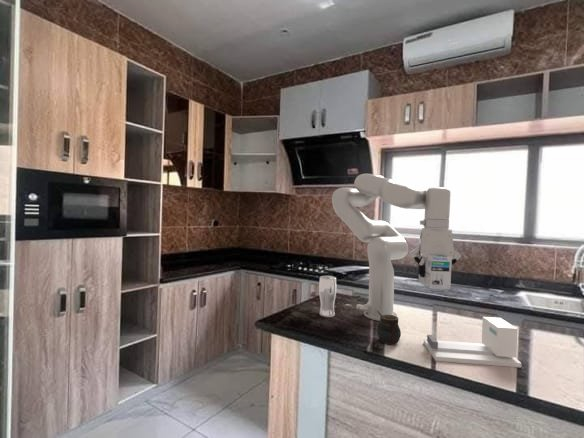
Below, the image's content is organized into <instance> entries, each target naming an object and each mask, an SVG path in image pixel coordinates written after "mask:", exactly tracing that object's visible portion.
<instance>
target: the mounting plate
mask: <svg viewBox="0 0 584 438" xmlns="http://www.w3.org/2000/svg"><path fill="white" fill-rule="evenodd" d="M423 344H424V345H425V348H426V349H427V351H428V352H429V354H430V355H431V356H432V358H433V359H434V361H436V362H447V363H459V364H472V365H485V366H496V367H497V366H499V367H509V368H510V367H512V368H522V362H521V361H520V360H518V359H517V357H503V356H496V355H495V354H494V353H493V352H492V351H491V350H489V349H488V348H487V347H486V346H485V345H484V344H483V343H482V342H481V343H478V342H466V341H464V342H463V341H452V340H451V341H450V340H439V339H436V338H435V337H434V336H433V334H427V335H426V339H423Z"/></svg>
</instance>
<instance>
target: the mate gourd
mask: <svg viewBox="0 0 584 438" xmlns="http://www.w3.org/2000/svg"><path fill="white" fill-rule="evenodd" d="M377 312H378V313H379V314H380V312H379V311H377ZM376 331H377V336H378V340H380V341H381V342H382V344H386V345H393V346H394V345H396V344H397V343H398V342H399V341H400V340H401V339H400V338H401V335H402V333H401V328H400V326H399V317H398V316H397V317H396V316H394V315H389V314H386V315H381V314H380V321H379V323H378V325H377V330H376Z"/></svg>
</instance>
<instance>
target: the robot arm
mask: <svg viewBox="0 0 584 438" xmlns="http://www.w3.org/2000/svg"><path fill="white" fill-rule="evenodd" d="M376 199H379V200H381V201H382V202H384V203H386V204H387V205H391V206H393V207H398V208H401V209H406V210H407V209H409V210H410V209H411V210H424V219H423V220H420V221H419V225H421V226H423V228H421V231H420V236H419V242H418V246H416V247H415V248H414V249H412V250H411V251H409V245H408V242H407V240H405V238H404V237H403V236H402V235H401V233H399V232H398V231H397V230H396V229H395V228H394V227H393V226H392V225H391V224H389V223H388V222H386V221H385V220H382V219H370V218H368V216H366V214H364V213H363V212H362V211H361V210H360V209H358V208H362V207H366V206H367V205H369V204H371V203H372V202H374V201H375V200H376ZM331 203H332V208H333V211H334V212H335V214H336V216H337V217H339V219H340V220H341V221H342V222H343V223H345V224H346V226H347V227H348V228H349V230H351V232H353V234H354V235H355V236H356V237H357V238H358V240H360V241H361V242H363V243H368V244H367V247H366V251H367V258H368V267H369V268H368V301H367V302H366V303H365V304H356V310H359V311H361V312H363V314H364V317H366V318H368V319H370V320H372V321H373V320H374V321H379V322H380V314H381V315H386V314H389V315H394V316H396V317H398V314H397V313H396V312H395V311H394V302H395V301H394V295H395V294H394V293H395V271H394V270H395V269H394V267H393V263H392V261H395V260H401V259H403V258H405V257H406V256H407V255H408V253H409V255H410V256H411V258H412V259H413V260H414V261H415V262H416V263H417V264H418V270H417V273H418V275H419V274H420V276H421V277H424V272H425V266H424V262H425V261H426V258H428V255H443V256H450V257H452V264H451V268H452V267H453V265H454V264H455V263H457V262H458V261H459V259H460V258H462V254H461V253H460V252H458V251H457V250H456V249H455V248H454V239H453V238H454V237H453V230H452V229H450V209H451V189H449V188H448V187H443V186H442V187H437V186H436V187H428V188H425V187H414V186H407V185H406V186H405V185H401V184H397V183H395V182H394V181H393V179H392V178H387V177H384V176H383V175H380V174H373V173H362V174H359V175H358V176H356V178H355V180H354V187H347V186H345V187H340V188H337V189H336V190H334V191H333V193H332V196H331ZM417 253H418V255H419V257H418V256H417ZM420 256H421V257H420ZM377 311H379V312H380V314H379V313H378V312H377Z"/></svg>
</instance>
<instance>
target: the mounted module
mask: <svg viewBox="0 0 584 438" xmlns="http://www.w3.org/2000/svg"><path fill="white" fill-rule="evenodd" d="M481 322H482V327H481V330H482V332H481V343H482V344H484V345H485V346H486V347H487V348H488V349H489V350H491V351H492V352H493V353H494V354H495V355H496V356H503V357H514V358H517V351H518V349H517V347H518V346H517V345H518V328H517V327H516V326H514V325H513V324H511V323H510V322H508V321H507V320H504V319H503V318H502V317H493V316H492V317H491V316H482V321H481Z"/></svg>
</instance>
